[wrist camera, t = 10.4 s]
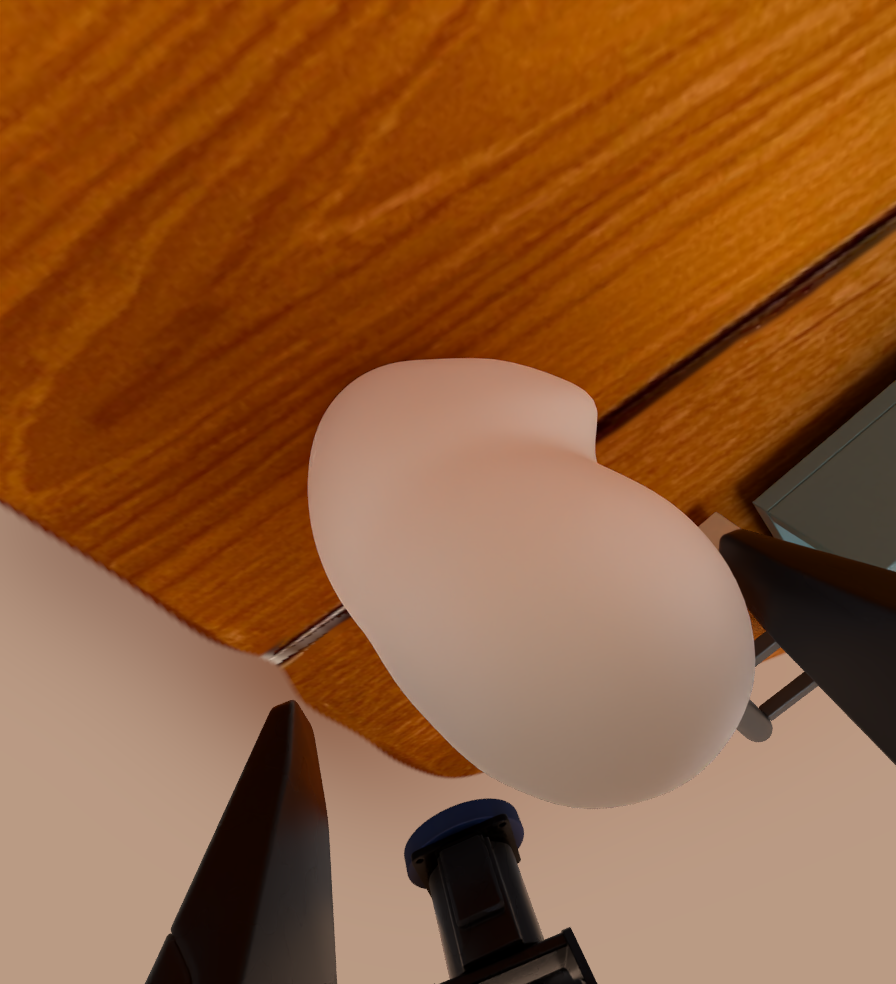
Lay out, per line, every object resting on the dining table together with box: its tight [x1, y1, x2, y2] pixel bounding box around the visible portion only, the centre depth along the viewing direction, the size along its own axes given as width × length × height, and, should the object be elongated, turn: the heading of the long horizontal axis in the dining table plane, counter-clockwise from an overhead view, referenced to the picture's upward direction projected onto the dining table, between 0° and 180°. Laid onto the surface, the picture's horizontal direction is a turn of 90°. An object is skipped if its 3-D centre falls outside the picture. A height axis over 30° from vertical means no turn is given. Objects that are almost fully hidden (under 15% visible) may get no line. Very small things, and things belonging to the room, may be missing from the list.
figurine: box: [308, 358, 755, 809], centre depth 12 cm, size 7×8×12 cm
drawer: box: [698, 380, 896, 742], centre depth 22 cm, size 20×12×6 cm, turn 132°
